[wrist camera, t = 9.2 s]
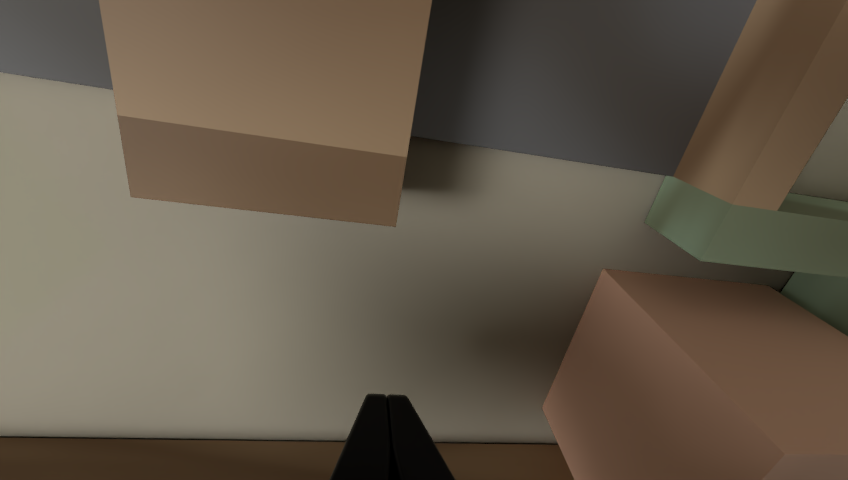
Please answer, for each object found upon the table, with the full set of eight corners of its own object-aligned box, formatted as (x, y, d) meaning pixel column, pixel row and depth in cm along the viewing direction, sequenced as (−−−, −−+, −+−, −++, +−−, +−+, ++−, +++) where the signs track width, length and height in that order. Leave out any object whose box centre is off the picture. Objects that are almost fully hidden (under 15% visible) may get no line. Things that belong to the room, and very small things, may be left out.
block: (681, 409, 13) (839, 602, 9) (541, 405, 12) (637, 618, 8) (764, 283, 11) (1035, 455, 6) (601, 267, 10) (784, 454, 5)
